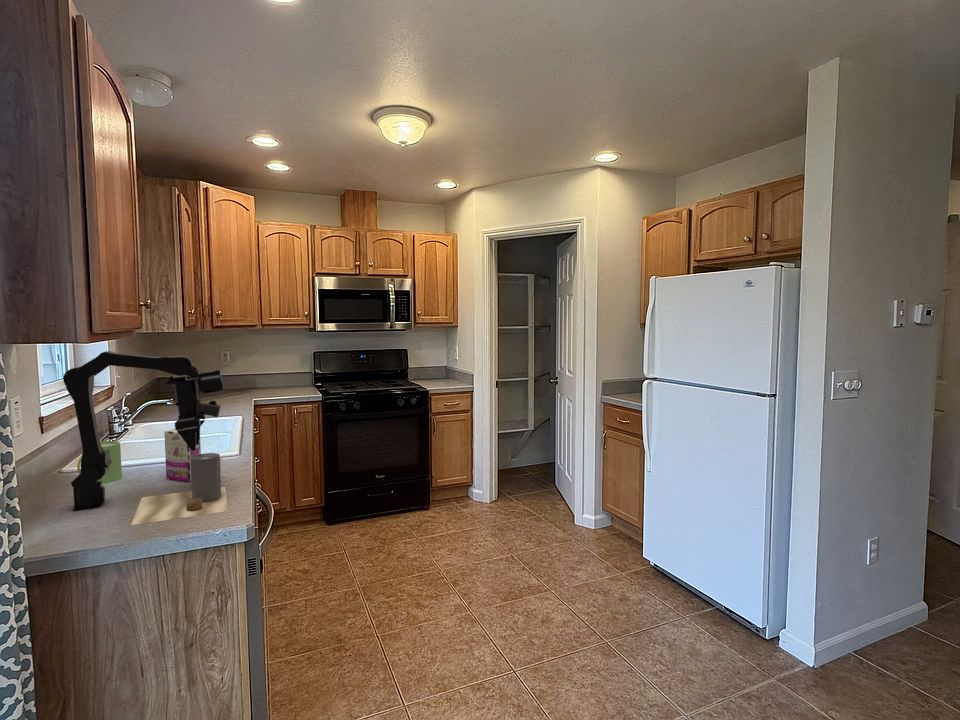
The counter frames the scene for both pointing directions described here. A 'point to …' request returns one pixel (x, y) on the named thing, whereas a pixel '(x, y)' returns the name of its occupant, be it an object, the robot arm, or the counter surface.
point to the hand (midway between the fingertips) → (195, 447)
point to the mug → (115, 466)
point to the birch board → (174, 507)
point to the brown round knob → (194, 504)
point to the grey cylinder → (206, 477)
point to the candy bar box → (178, 457)
